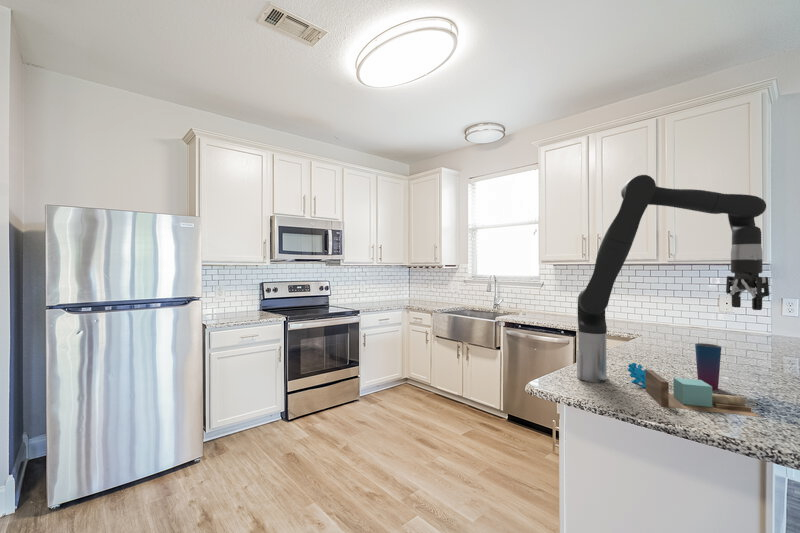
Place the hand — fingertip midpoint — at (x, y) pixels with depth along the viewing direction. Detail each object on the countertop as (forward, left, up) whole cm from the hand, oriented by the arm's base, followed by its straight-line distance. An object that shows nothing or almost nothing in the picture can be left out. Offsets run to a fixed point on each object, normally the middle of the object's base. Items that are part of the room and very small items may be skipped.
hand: (746, 308), depth 119 cm
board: (-20, -18, -28) cm, 38 cm away
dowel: (-13, -18, -27) cm, 35 cm away
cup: (-10, +1, -28) cm, 30 cm away
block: (-21, -18, -27) cm, 39 cm away
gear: (-30, -2, -28) cm, 41 cm away
